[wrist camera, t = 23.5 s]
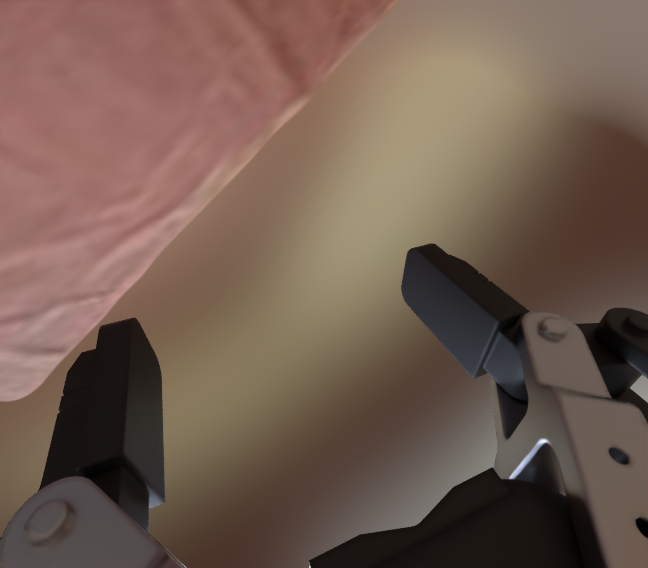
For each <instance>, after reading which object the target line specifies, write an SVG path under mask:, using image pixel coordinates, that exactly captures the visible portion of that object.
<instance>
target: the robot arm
mask: <svg viewBox="0 0 648 568" xmlns="http://www.w3.org/2000/svg"><path fill="white" fill-rule="evenodd" d="M401 287H402V288H401V290H402V295H403V298H404V300H405V302H406V303H407V305H408V306H409V307H410V308H411V309H412V310H413V311H414V313H415V314H416V315H417V316H418V317H419V318H420V319H421V320H422V322H423V323H424V324H425V325H426V326H427V327H428V328H429V329H430V331H431V332H432V333H433V334H434V335H435V336H436V337H437V339H438V340H439V341H440V342H441V343H442V344H443V345H444V346H445V348H446V349H447V350H448V351H449V352H450V353H451V354H452V355H453V356H454V358H455V359H456V360H457V361H458V362H459V363H460V364H461V366H462V367H463V368H464V369H465V370H466V371H467V372H468V373H469V375H470V376H471V377H472V378H473V379H474V378H477V377H479V376H482V375H484V374H487V373H488V374H489V375H490V376H491V377H492V380H491V383H490V390H491V398H492V405H493V413H494V421H495V429H496V437H497V454H496V459H495V463H494V469H493V468H490V469H488V470H486V471H484V472H482V473H481V474H478V475H476V476H475V477H472V478H470V479H469V480H466V481H465V482H463V483H461V484H459V485H457V486H455V487H453V488H452V489H451V490H450V491H449V492H448V493H447V495H446V496H445V497H444V498H443V499H442V500H441V501H440V502H439V503H438V504H437V505H436V506H435V507H434V509H432V511H431V512H430V513H429V514H428V515H427V516H426V517H425V518H424V519H423V520H422V521H421V522H420V523H419V524H418V525H416V526H412V527H406V528H400V529H393V530H387V531H381V532H374V533H368V534H361V535H358V536H357V537H355V538H353V539H351V540H349V541H347V542H345V543H343V544H341V545H339V546H337V547H335V548H333V549H331V550H329V551H327V552H325V553H323V554H321V555H319V556H317V557H315V558H314V559H311V560H309V564H310V568H648V403H647V402H646V401H645V400H643V399H642V398H641V397H640V396H639V395H637V394H636V393H635V392H634V391H632V390H631V389H630V387H631V386H632V385H633V384H634V383H635V381H636V380H637V379H638V378H639V377H640V376H641V375H642V374H643V375H644V376H645V377H647V378H648V315H647V314H645V313H643V312H640V311H636V310H633V309H628V308H613V309H610V310H608V311H607V312H606V314H605V315H604V317H603V318H602V319H601V321H600V322H599V323H590V324H589V323H588V324H574V323H573V322H572V321H570V320H569V319H567V318H565V317H563V316H561V315H558V314H556V313H553V312H548V311H531V312H530V311H528V310H527V309H526V308H525V307H523V306H522V305H520V304H519V303H518V302H517V301H516V300H514V299H513V298H512V297H511V296H509V295H508V294H506V293H505V292H504V291H503V290H502V289H500V288H499V287H498V286H496V285H495V284H494V283H493V282H491V281H490V282H489V281H488V279H487V278H486V277H485V276H484V275H482V274H481V273H480V274H479V273H478V271H477V270H476V269H475V268H473V267H472V266H471V265H469V264H468V263H467V262H465V261H463V260H461V259H459V258H456V257H454V256H452V255H448V254H447V253H446V252H444V251H443V250H442V249H441V248H439V247H438V246H437V245H436V244H427V245H423V246H419V247H415V248H411V249H410V250H409V251H408V253H407V257H406V262H405V268H404V274H403V280H402V286H401ZM63 394H64V396H62V398H61V402H60V406H59V411H60V413H59V414H58V415H57V419H56V423H55V428H54V432H53V436H52V441H51V444H50V448H49V453H48V457H47V461H46V466H45V470H44V474H43V478H42V482H41V485H40V488H39V490H38V492H37V493H35V494H34V495H33V496H32V497H31V498H29V499H28V500H27V501H26V502H25V503H24V504H23V505H22V506H21V507H20V509H19V510H18V511H17V512H16V513H15V514H14V516H13V517H12V519H11V520H10V522H9V523H8V525H7V527H6V528H5V530H4V532H3V535H2V537H1V538H0V568H185V566H184V565H182V564H181V562H179V561H178V560H177V559H176V558H175V557H174V556H173V555H172V554H171V553H170V552H169V551H168V550H167V549H166V548H165V547H164V546H163V545H162V544H160V543H159V542H158V541H157V540H156V539H155V538H154V537H153V536H152V535H151V534H150V533H149V508H152V507H154V506H157V505H159V504H161V503H164V502H165V483H164V450H163V449H164V447H163V413H162V412H163V409H162V377H161V370H160V365H159V362H158V359H157V357H156V355H155V352H154V350H153V349H152V347H151V345H150V343H149V341H148V339H147V337H146V335H145V333H144V331H143V329H142V327H141V325H140V323H139V322H138V320H137V319H136V318H130V319H126V320H122V321H118V322H114V323H110V324H106V325H102V326H101V327H100V329H99V334H98V340H97V346H96V349H93V350H89V351H86V352H82V353H81V354H80V356H79V357H78V358H77V360H76V361H75V363H74V364H73V365H72V367H71V368H70V370H69V371H68V373H67V377H66V381H65V385H64V389H63Z"/></svg>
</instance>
